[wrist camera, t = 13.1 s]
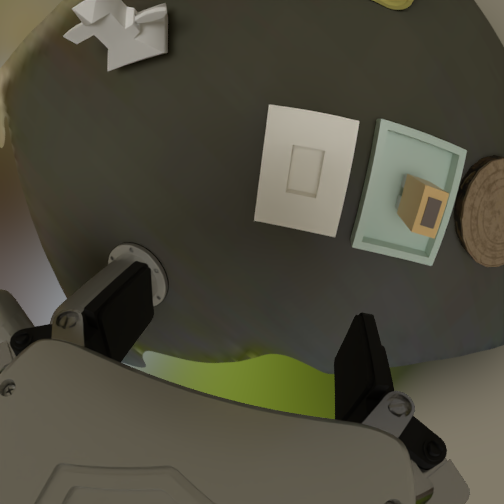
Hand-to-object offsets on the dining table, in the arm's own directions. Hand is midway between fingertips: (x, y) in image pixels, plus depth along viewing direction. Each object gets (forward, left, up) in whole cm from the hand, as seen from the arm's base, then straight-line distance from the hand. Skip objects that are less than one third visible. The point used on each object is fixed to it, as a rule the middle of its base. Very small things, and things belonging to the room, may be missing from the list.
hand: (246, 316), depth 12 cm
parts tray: (+3, -14, -25) cm, 29 cm away
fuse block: (+3, -1, -25) cm, 25 cm away
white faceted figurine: (+20, +23, -25) cm, 39 cm away
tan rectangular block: (+3, -14, -24) cm, 29 cm away
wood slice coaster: (+5, -30, -26) cm, 40 cm away
